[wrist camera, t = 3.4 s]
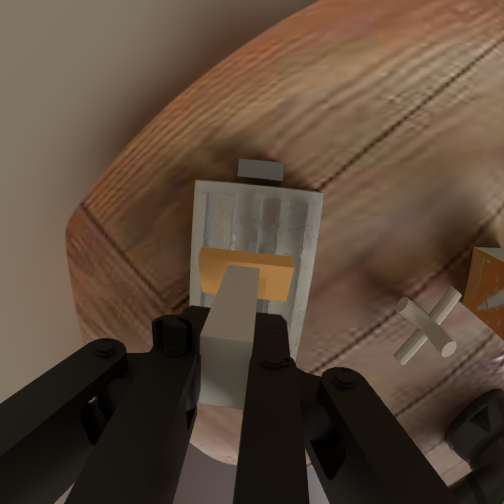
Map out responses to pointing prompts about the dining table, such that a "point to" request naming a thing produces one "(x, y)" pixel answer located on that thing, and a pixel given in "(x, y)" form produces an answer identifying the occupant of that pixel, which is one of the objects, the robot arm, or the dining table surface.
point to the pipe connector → (427, 325)
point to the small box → (487, 287)
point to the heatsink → (259, 233)
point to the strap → (271, 266)
